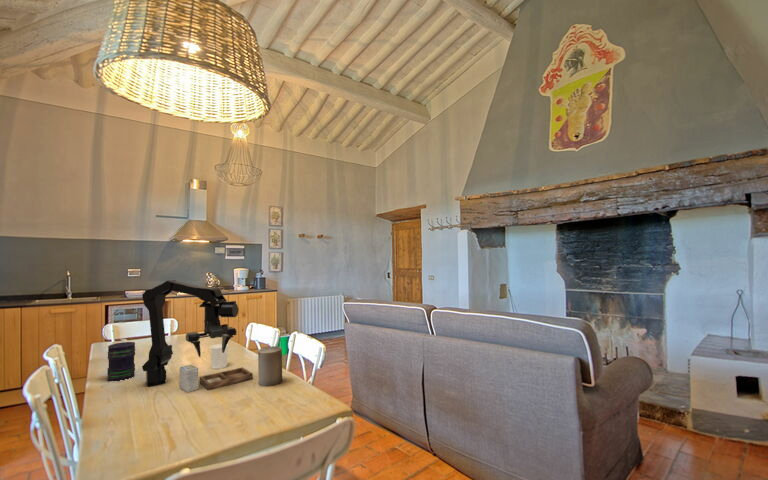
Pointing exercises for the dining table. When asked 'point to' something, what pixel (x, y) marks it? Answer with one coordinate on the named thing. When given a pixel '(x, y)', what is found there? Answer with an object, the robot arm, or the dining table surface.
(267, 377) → the pillar candle
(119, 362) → the storage jar
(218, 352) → the white cup
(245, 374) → the tray
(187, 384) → the medicine box
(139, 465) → the dining table surface
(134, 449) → the dining table surface
